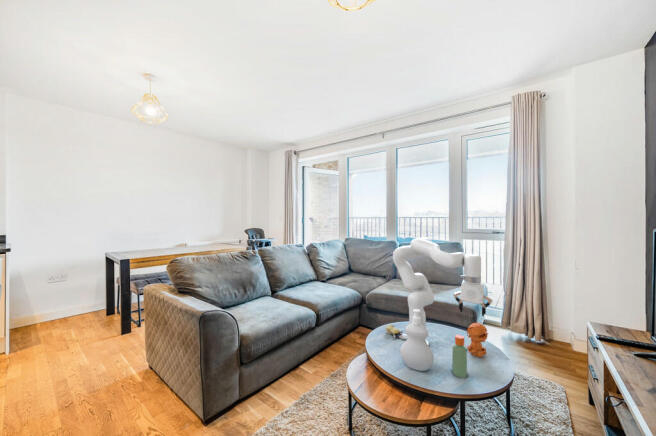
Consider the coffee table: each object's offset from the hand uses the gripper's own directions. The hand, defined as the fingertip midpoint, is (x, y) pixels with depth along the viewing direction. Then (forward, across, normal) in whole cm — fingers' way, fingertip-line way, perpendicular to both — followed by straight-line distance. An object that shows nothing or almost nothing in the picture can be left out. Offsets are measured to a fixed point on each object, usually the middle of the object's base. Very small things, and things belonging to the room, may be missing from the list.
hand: (472, 313), depth 135 cm
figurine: (+30, -45, +14) cm, 56 cm away
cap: (+14, -4, -7) cm, 16 cm away
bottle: (+29, -4, -7) cm, 30 cm away
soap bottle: (+29, -23, -14) cm, 40 cm away
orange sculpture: (+29, 0, +18) cm, 34 cm away
